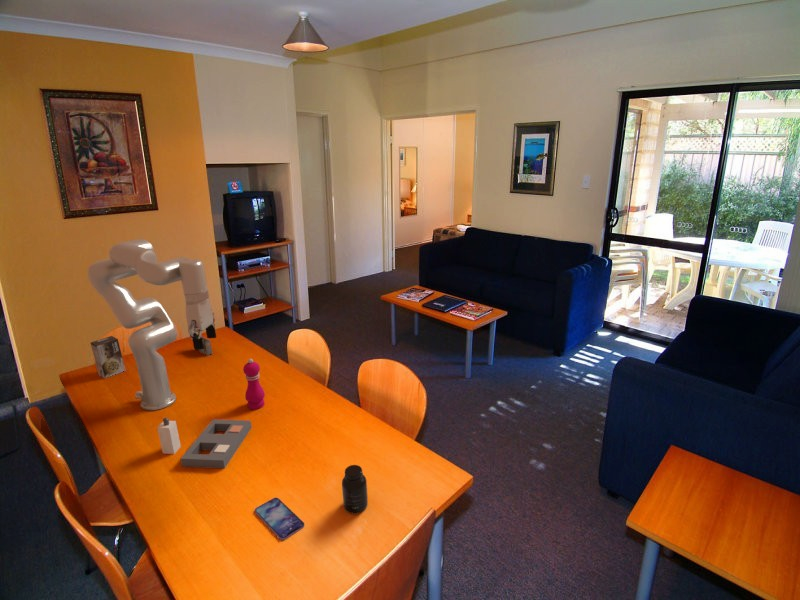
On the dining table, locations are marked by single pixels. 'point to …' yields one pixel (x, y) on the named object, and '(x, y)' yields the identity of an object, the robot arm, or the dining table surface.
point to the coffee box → (108, 356)
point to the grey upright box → (206, 346)
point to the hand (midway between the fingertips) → (205, 343)
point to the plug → (169, 436)
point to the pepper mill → (253, 385)
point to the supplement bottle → (354, 490)
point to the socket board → (217, 444)
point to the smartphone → (279, 518)
